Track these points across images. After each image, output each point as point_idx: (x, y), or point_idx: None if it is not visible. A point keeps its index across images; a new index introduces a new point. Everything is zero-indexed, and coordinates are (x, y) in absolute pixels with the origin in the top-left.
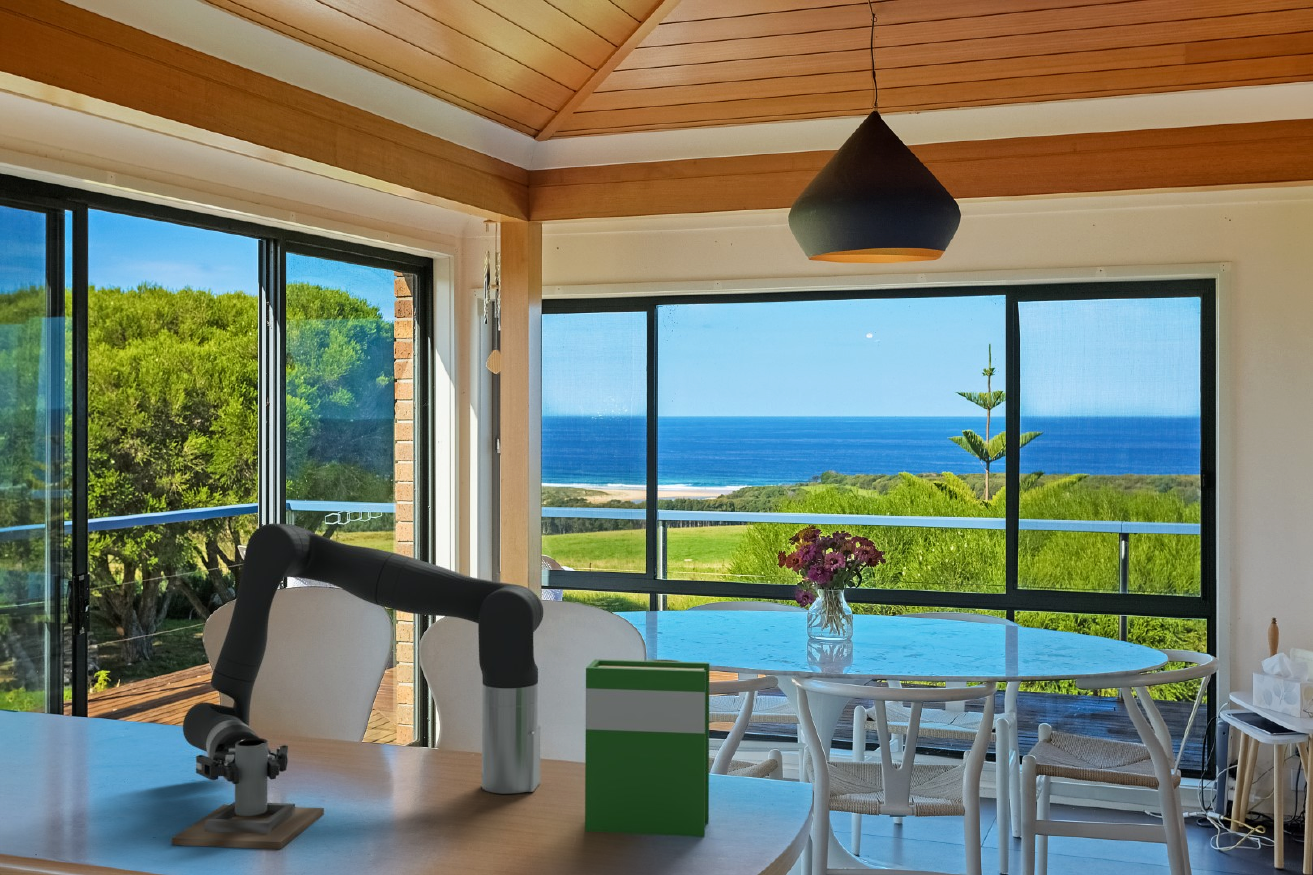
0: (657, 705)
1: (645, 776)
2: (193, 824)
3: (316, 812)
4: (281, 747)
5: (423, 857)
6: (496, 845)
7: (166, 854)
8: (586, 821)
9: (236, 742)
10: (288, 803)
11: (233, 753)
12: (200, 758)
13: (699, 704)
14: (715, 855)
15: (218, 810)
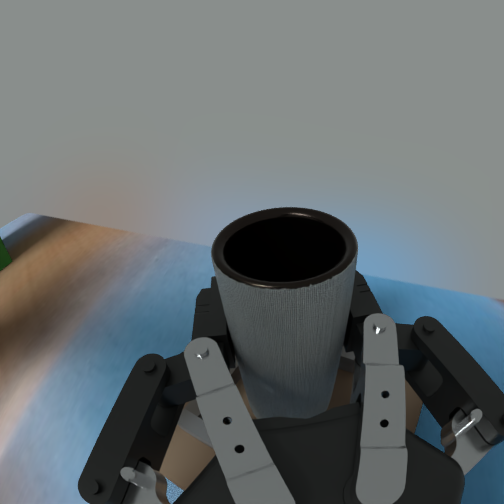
0: None
1: None
2: (417, 418)
3: None
4: (109, 480)
5: (123, 243)
6: (64, 252)
7: (422, 315)
8: (8, 254)
9: (353, 240)
10: (187, 429)
11: (373, 391)
12: (495, 386)
13: None
14: (24, 221)
15: None
